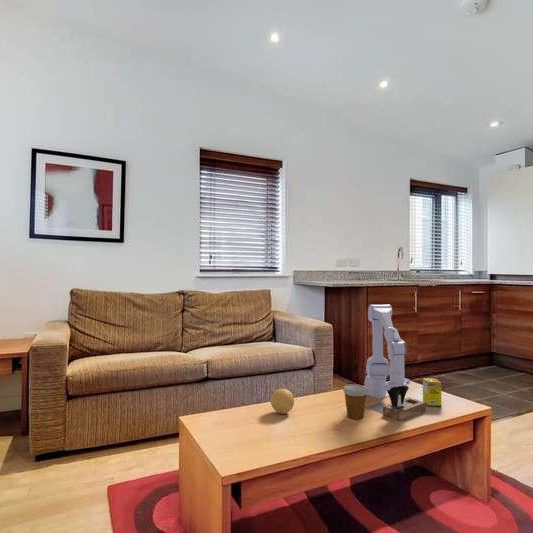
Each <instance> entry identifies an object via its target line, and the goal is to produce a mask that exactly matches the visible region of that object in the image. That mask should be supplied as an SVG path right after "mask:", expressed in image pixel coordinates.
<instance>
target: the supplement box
mask: <svg viewBox="0 0 533 533" xmlns="http://www.w3.org/2000/svg"><path fill="white" fill-rule="evenodd" d="M422 401H423V402H426V407H431V408H434V407H435V408H442V382H441V381H439V379H437V378H422Z"/></svg>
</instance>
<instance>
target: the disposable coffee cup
mask: <svg viewBox="0 0 533 533" xmlns="http://www.w3.org/2000/svg"><path fill="white" fill-rule="evenodd" d="M343 393H344V399H345V408H346V416H347V417H348V418H349V419H351V420H363V418H364V417H365V416H364V415H365V409H366V408H365V407H366V397H367V395H366V394H367V390H366V387H365V385H361V384H353V383H352V384H350V383H349V384H345V385H344V388H343Z"/></svg>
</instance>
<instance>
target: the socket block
mask: <svg viewBox="0 0 533 533" xmlns="http://www.w3.org/2000/svg"><path fill="white" fill-rule="evenodd" d="M425 412H427V405H426V402H423V400H420V399H416V398H413V397H405V398H404V402H403V404H401V409H396V408H393V405H392V404H391V403H389V404H385V406H383V414H382V416H384V417H387V418H390V419H392V420H395V421H398V422H403V421H404V420H407V419H411V418H413V417H415V416H418V415H420V414H422V413H425Z"/></svg>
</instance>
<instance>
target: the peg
mask: <svg viewBox="0 0 533 533" xmlns="http://www.w3.org/2000/svg"><path fill="white" fill-rule="evenodd" d="M393 408H396V409H401V393H399V396H398V404H397V406H393Z"/></svg>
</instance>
